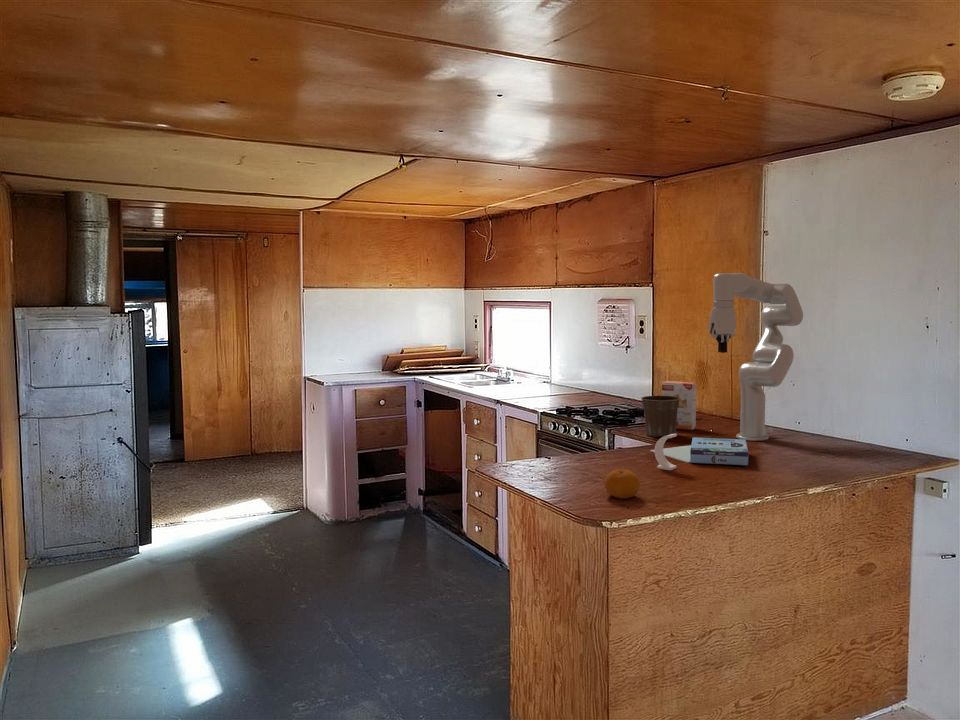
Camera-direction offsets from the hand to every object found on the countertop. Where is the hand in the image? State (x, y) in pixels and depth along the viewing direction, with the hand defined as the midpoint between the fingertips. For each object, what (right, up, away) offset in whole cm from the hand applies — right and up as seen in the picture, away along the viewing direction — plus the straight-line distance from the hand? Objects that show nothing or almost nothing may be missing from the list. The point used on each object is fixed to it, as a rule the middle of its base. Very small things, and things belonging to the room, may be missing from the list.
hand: (722, 352), depth 279 cm
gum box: (-4, -35, -7) cm, 36 cm away
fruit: (-52, -44, -65) cm, 95 cm away
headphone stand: (-30, -41, -31) cm, 59 cm away
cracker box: (-6, -34, +42) cm, 54 cm away
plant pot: (-18, -35, +27) cm, 48 cm away
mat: (-16, -38, -10) cm, 43 cm away
